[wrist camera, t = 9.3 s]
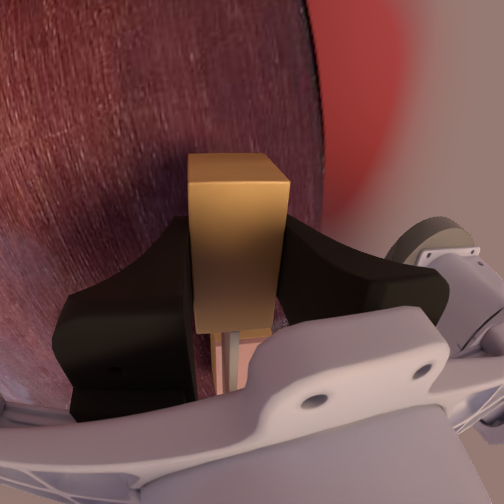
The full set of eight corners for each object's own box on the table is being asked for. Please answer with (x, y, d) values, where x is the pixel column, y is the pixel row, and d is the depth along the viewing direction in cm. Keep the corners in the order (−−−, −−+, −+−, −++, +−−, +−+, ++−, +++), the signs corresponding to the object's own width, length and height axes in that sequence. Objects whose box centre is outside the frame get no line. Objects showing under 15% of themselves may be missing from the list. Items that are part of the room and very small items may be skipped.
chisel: (187, 153, 11) (187, 182, 8) (264, 152, 12) (291, 181, 9) (202, 387, 19) (207, 432, 16) (246, 382, 20) (256, 426, 17)
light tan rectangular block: (261, 298, 24) (275, 341, 20) (253, 361, 28) (264, 401, 24) (209, 301, 23) (215, 346, 19) (211, 365, 27) (217, 406, 24)
